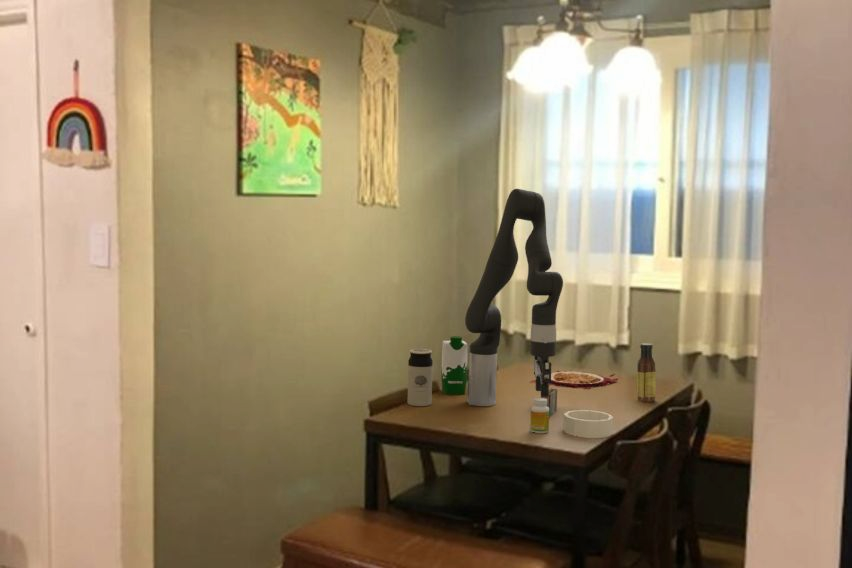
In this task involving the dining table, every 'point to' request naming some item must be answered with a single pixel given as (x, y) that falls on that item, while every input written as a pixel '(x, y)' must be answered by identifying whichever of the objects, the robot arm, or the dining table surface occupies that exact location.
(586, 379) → the plate with food
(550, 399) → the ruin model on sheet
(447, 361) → the milk carton
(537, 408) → the supplement bottle
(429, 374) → the travel mug
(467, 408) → the dining table surface
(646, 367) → the sauce bottle
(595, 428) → the bowl
